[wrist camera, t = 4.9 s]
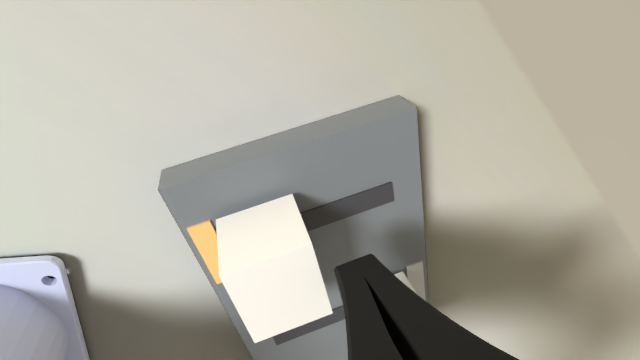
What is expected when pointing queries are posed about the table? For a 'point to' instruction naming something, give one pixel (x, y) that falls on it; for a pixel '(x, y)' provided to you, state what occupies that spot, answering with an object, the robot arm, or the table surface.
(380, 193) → the switch panel
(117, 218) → the table surface
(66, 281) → the robot arm
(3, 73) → the table surface
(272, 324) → the tab
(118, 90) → the table surface
